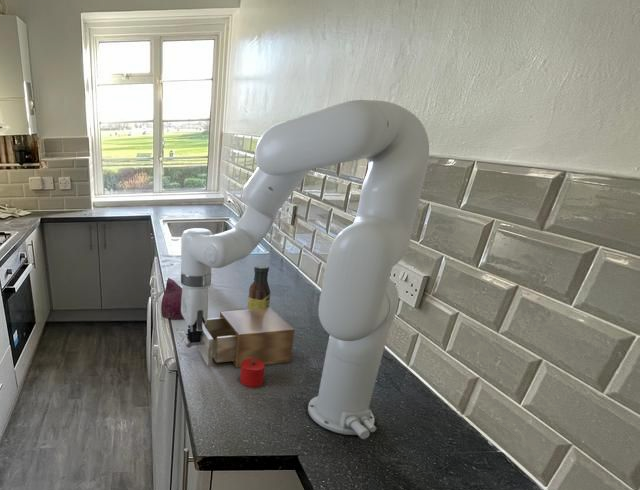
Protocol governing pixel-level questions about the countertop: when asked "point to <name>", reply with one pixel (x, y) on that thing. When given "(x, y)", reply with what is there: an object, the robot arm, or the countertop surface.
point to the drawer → (215, 341)
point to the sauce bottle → (259, 289)
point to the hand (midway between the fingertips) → (193, 342)
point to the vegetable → (172, 301)
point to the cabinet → (260, 335)
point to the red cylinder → (252, 372)
